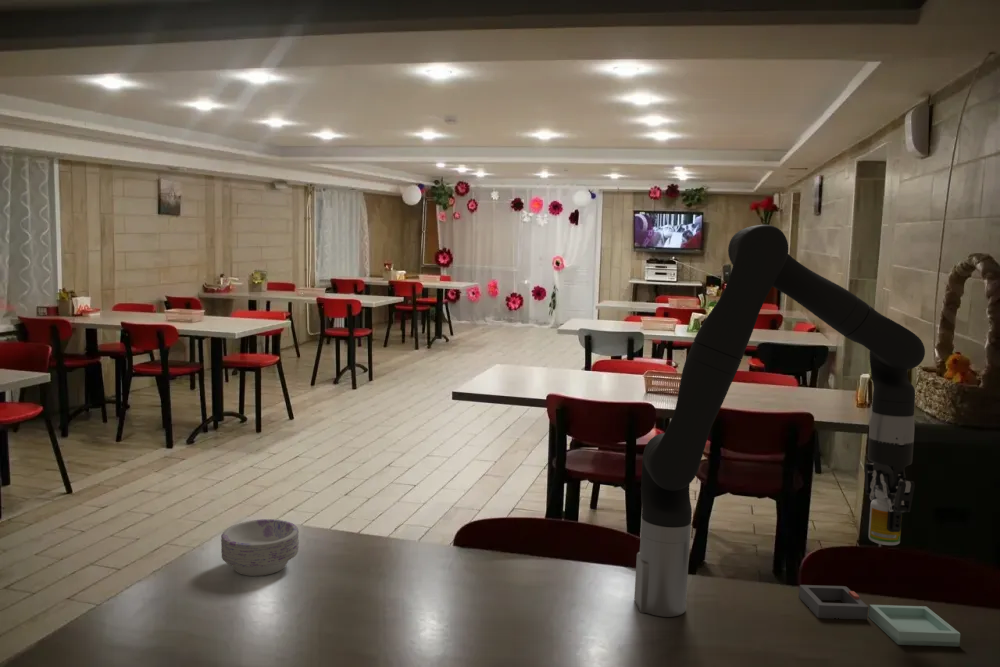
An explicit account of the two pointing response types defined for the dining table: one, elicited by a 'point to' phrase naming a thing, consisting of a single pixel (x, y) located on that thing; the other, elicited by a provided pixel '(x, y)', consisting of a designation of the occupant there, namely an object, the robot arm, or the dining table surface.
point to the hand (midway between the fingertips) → (885, 525)
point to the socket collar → (846, 610)
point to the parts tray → (914, 625)
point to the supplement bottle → (881, 521)
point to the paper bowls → (259, 546)
